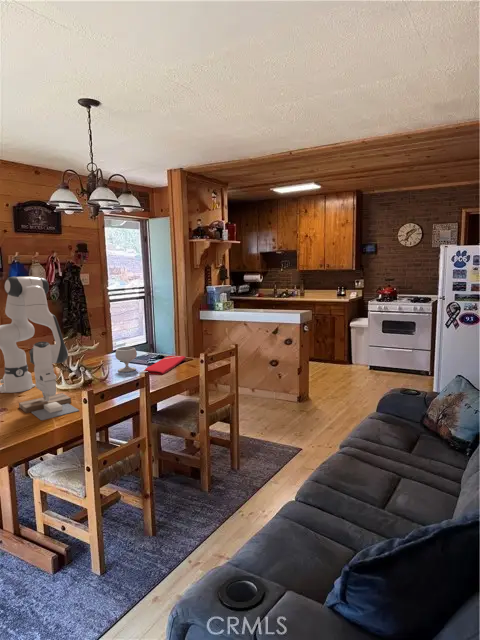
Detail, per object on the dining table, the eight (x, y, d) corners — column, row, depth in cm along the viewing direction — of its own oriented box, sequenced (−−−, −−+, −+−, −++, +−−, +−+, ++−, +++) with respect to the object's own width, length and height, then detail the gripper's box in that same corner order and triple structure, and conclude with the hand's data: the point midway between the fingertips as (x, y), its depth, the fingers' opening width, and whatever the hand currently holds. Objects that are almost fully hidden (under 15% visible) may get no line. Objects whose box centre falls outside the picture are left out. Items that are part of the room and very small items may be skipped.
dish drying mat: (140, 374, 281) (140, 369, 280) (166, 360, 320) (166, 355, 319) (163, 375, 277) (162, 370, 276) (186, 360, 316) (186, 355, 316)
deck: (19, 407, 221) (18, 402, 220) (62, 397, 235) (62, 393, 235) (26, 413, 212) (25, 408, 212) (71, 402, 226) (70, 397, 226)
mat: (31, 412, 212) (31, 411, 212) (68, 403, 224) (67, 403, 224) (41, 420, 201) (41, 419, 201) (79, 410, 213) (79, 410, 213)
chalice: (141, 369, 291) (140, 348, 289) (123, 374, 281) (122, 351, 279) (130, 366, 301) (129, 345, 299) (112, 370, 291) (110, 348, 289)
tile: (44, 408, 217) (43, 404, 217) (56, 405, 221) (55, 401, 221) (50, 412, 210) (49, 408, 210) (62, 409, 214) (62, 405, 214)
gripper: (31, 371, 225) (33, 396, 227) (44, 379, 209) (46, 406, 211) (43, 369, 229) (46, 394, 231) (57, 376, 214) (59, 403, 216)
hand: (46, 400), depth 221 cm, fingers closed
